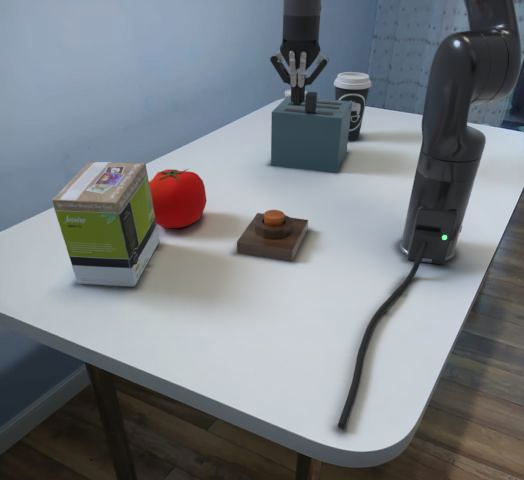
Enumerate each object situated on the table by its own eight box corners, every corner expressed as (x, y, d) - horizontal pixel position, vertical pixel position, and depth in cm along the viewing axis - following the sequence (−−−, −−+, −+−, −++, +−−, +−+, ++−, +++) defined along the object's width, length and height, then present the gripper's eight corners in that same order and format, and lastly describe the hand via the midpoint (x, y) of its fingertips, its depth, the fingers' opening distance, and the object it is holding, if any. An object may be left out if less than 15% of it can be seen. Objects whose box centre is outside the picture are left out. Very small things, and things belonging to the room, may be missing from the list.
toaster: (336, 172, 115) (342, 117, 107) (270, 165, 119) (271, 111, 111) (346, 152, 126) (352, 101, 118) (285, 146, 129) (287, 95, 121)
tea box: (107, 239, 91) (89, 158, 81) (160, 243, 90) (148, 161, 80) (75, 285, 79) (49, 197, 70) (135, 289, 79) (118, 200, 69)
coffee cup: (371, 137, 134) (380, 75, 125) (349, 145, 130) (356, 82, 120) (344, 129, 140) (350, 69, 130) (321, 136, 135) (326, 75, 125)
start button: (281, 229, 86) (281, 219, 85) (261, 226, 87) (261, 217, 86) (286, 220, 89) (286, 211, 88) (267, 217, 90) (267, 208, 89)
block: (291, 261, 85) (292, 240, 82) (237, 253, 87) (236, 232, 85) (307, 230, 94) (308, 210, 91) (257, 223, 96) (257, 203, 93)
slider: (313, 112, 110) (314, 95, 107) (304, 111, 110) (305, 94, 108) (316, 109, 112) (317, 92, 109) (307, 108, 112) (308, 91, 110)
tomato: (221, 221, 96) (218, 168, 90) (167, 243, 90) (159, 188, 83) (187, 203, 103) (182, 152, 96) (134, 222, 96) (124, 169, 89)
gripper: (264, 12, 98) (264, 106, 109) (330, 15, 95) (323, 111, 107) (275, 8, 103) (273, 98, 115) (337, 10, 101) (329, 102, 112)
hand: (297, 104), depth 111 cm, fingers closed
